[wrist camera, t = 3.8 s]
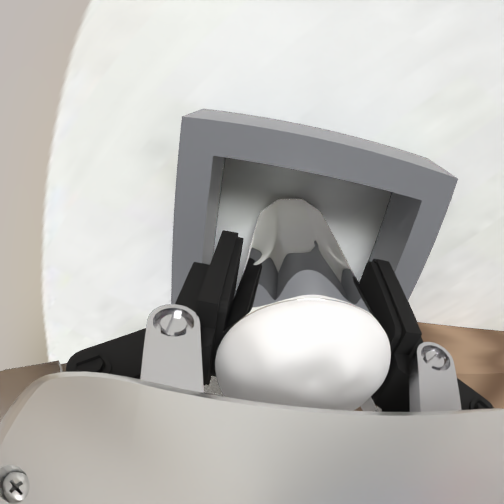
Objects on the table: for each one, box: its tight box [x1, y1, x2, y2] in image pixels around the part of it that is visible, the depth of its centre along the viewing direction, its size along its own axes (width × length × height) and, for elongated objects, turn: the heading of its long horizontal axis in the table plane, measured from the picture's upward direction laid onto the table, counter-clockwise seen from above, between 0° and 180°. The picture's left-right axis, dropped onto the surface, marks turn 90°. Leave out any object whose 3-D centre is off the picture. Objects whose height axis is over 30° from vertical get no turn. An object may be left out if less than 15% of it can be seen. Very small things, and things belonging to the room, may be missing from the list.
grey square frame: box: [171, 109, 458, 304], centre depth 14 cm, size 10×10×3 cm
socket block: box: [353, 322, 504, 411], centre depth 19 cm, size 16×16×4 cm
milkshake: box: [215, 199, 391, 412], centre depth 11 cm, size 4×5×10 cm
